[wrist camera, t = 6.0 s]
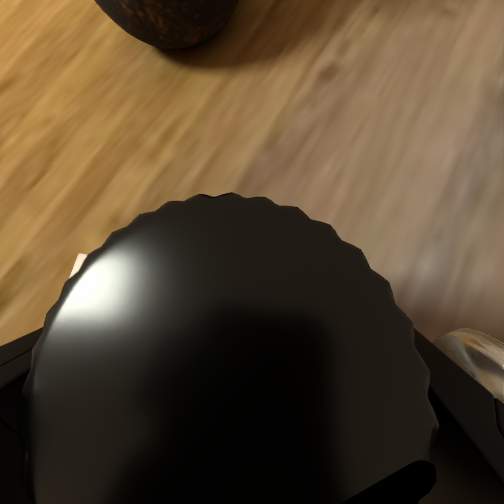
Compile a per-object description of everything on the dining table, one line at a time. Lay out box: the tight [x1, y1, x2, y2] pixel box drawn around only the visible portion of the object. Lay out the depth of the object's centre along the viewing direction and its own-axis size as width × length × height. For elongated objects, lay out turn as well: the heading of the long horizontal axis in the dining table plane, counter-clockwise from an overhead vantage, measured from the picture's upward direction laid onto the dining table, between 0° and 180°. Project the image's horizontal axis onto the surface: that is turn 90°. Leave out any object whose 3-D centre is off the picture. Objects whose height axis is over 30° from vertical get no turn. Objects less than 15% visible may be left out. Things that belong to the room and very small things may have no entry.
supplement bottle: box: [18, 192, 439, 504], centre depth 8 cm, size 7×7×12 cm
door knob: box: [433, 328, 504, 403], centre depth 12 cm, size 4×3×9 cm
